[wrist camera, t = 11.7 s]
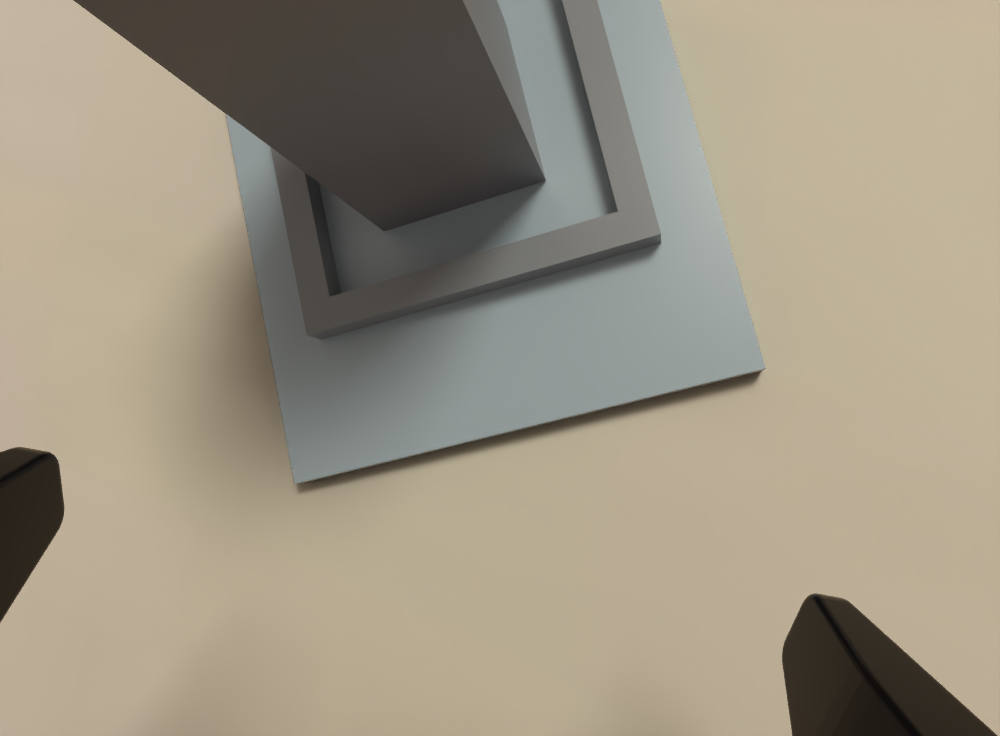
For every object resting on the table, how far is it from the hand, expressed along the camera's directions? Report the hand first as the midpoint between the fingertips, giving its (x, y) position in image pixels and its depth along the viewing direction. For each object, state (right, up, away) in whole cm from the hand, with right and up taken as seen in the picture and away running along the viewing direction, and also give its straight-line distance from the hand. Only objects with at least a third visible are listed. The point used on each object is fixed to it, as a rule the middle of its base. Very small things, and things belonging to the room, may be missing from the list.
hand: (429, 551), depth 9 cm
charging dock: (0, +8, +11) cm, 14 cm away
